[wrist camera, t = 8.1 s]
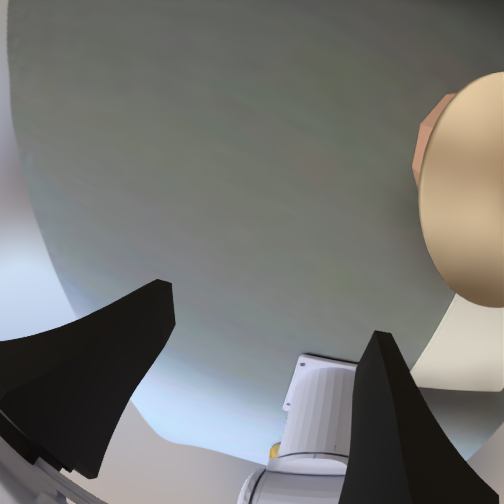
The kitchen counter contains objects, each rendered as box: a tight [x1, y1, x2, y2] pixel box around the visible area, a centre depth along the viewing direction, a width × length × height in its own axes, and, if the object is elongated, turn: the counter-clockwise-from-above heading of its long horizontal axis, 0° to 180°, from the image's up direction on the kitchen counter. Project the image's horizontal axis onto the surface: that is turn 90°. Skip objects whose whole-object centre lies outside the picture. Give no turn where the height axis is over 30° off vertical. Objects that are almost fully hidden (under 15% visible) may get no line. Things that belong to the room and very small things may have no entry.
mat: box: [410, 293, 504, 391], centre depth 18 cm, size 13×13×1 cm
